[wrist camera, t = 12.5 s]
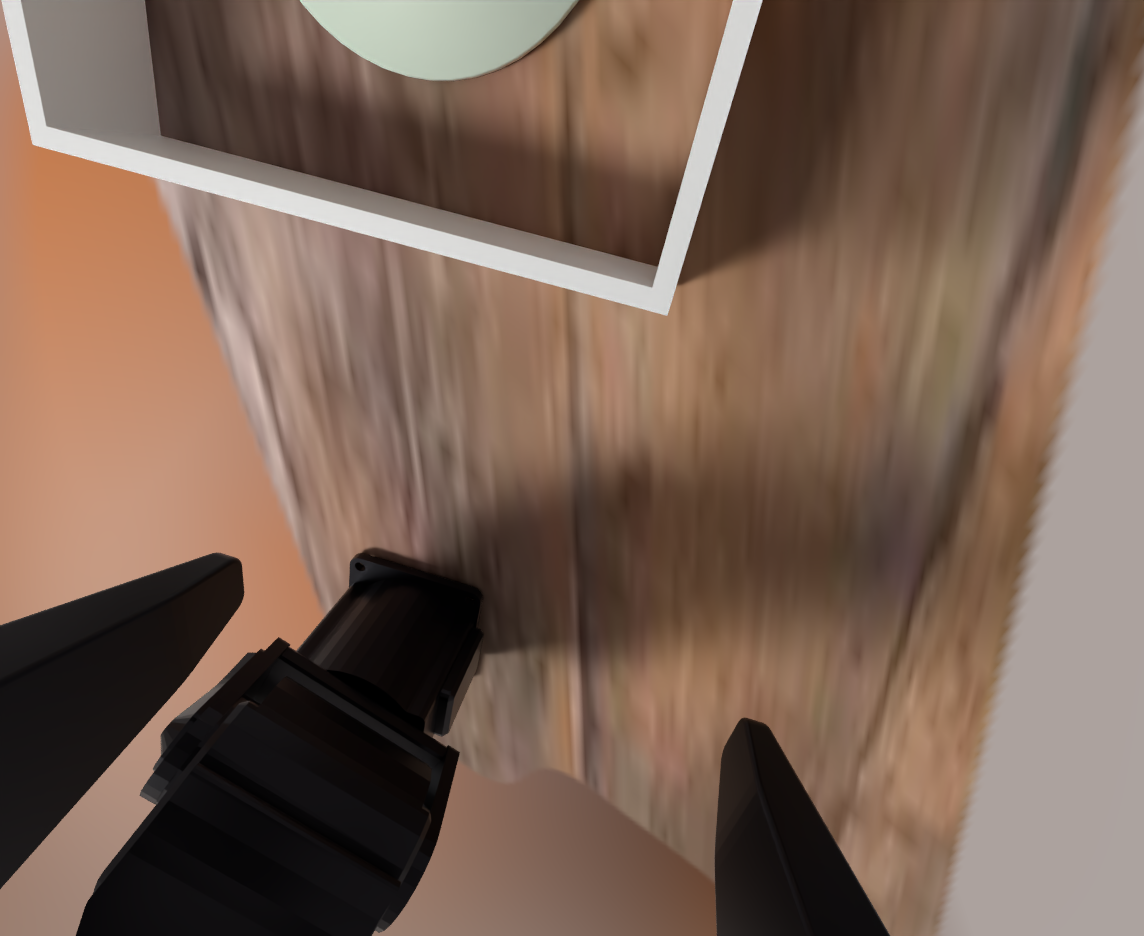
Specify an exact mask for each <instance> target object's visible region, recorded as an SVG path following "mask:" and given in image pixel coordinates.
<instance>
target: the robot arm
mask: <svg viewBox="0 0 1144 936" xmlns="http://www.w3.org/2000/svg"><path fill="white" fill-rule="evenodd" d="M360 563H362V564H363V565H364V566H363V565H361V564H360ZM242 573H243V572H242V564H241V562H240V560H239V559H237V558H235V557H232V556H229V555H225V554H222V553H212V554H209V555H206V556H203V557H200V558H197V559H194V560H191V561H189V562H185V563H182V564H179V565H176V566H174V567H171V568H168V569H165V570H162V571H159V572H156V573H153V574H150V575H147V576H144V577H141V578H138V579H135V580H132V581H129V582H126V583H124V584H121V585H118V586H115V587H112V588H109V589H106V590H103V591H100V592H97V593H94V594H91V595H88V596H85V597H82V598H79V599H77V600H74V601H71V602H68V603H65V604H62V605H59V606H56V607H53V608H50V609H47V610H44V611H41V612H38V613H35V614H32V615H29V616H27V617H24V618H21V619H18V620H15V621H12V622H9V623H6V624H3V625H0V889H1V888H2V886H3V885H4V884H5V883H6V882H7V881H8V880H9V879H10V878H11V876H12V875H13V874H14V873H15V872H16V871H17V870H18V868H19V867H20V866H21V865H22V864H23V863H24V861H26V859H27V858H28V857H29V856H30V855H31V854H32V853H33V852H34V850H35V849H36V848H37V847H38V846H39V845H40V844H41V843H42V841H43V840H44V839H45V838H46V837H47V836H48V835H49V834H50V832H51V831H52V830H53V829H54V828H55V827H56V826H57V825H58V823H59V822H60V821H61V820H62V819H63V818H64V816H66V814H67V813H68V812H69V811H70V810H71V809H72V808H73V806H74V805H75V804H76V803H77V802H78V801H79V800H80V798H81V797H82V796H83V795H84V794H85V793H86V792H87V791H88V790H89V789H90V787H91V786H92V785H93V784H94V783H95V782H96V781H97V780H98V778H99V777H100V776H101V775H102V774H103V773H104V772H105V771H106V769H107V768H108V767H109V766H110V765H111V764H112V763H113V762H114V760H115V759H116V758H117V757H118V756H119V755H120V754H121V752H122V751H123V750H124V749H125V748H126V747H127V746H128V745H129V744H130V742H131V741H132V740H133V739H134V738H135V737H136V736H137V735H138V733H139V732H140V731H141V730H142V729H143V728H144V727H145V726H146V724H147V723H148V722H149V721H150V720H151V719H152V718H153V716H154V715H155V714H156V713H157V712H158V711H159V710H160V709H161V708H162V706H163V705H164V704H165V703H166V702H167V701H168V700H169V699H170V697H171V696H172V695H173V694H174V693H175V692H176V691H177V689H178V688H179V687H180V686H181V685H182V683H183V682H184V681H185V680H186V679H187V677H188V676H189V675H190V673H191V672H192V671H193V670H194V668H195V667H196V665H197V664H198V663H199V661H200V659H202V657H203V656H204V654H205V653H206V652H207V650H208V649H209V648H210V646H211V645H212V643H213V642H214V641H215V639H216V638H217V637H218V635H219V634H220V632H221V631H222V630H223V628H224V627H225V626H226V624H227V623H228V622H229V620H230V619H231V617H232V616H233V615H234V613H235V612H236V611H237V609H238V608H239V606H240V605H241V603H242V600H243V597H244V584H243V574H242ZM469 597H472V598H474V599H475V600H473V599H471V598H469ZM482 602H483V594H482V593H481V591H480V590H479V589H477V588H475V587H471V586H468V585H465V584H462V583H458V582H455V581H452V580H449V579H445V578H442V577H439V576H436V575H432V574H429V573H426V572H423V571H419V570H416V569H413V568H410V567H406V566H403V565H400V564H397V563H393V562H390V561H387V560H383V559H380V558H377V557H374V556H370V555H367V554H363V553H359V554H357V555H356V556H355V557H354V558H353V559H352V560H351V562H350V578H349V589H348V590H347V591H346V592H345V594H344V595H343V596H342V597H341V598H340V599H339V601H338V602H337V603H336V604H335V605H334V607H333V608H332V609H331V610H330V611H329V613H328V614H327V615H326V616H325V617H324V619H323V620H322V621H321V622H320V623H319V624H318V626H317V627H316V628H315V629H314V630H313V632H312V633H311V634H310V635H309V636H308V638H307V639H306V640H305V641H304V642H303V644H302V645H301V646H300V647H299V649H298V650H297V651H295V650H294V649H292V648H290V647H289V646H290V644H289V643H287V642H286V641H284V640H282V639H281V638H279V637H278V638H277V639H276V640H275V641H274V642H273V643H272V644H271V645H270V646H269V647H268V648H267V649H266V650H265V651H264V650H262V649H260V650H259V651H258V652H257V653H247V654H246V655H245V656H244V657H243V658H242V659H241V660H240V662H239V663H238V664H237V665H236V666H235V667H234V668H233V669H232V670H231V671H230V672H229V673H228V674H227V675H226V676H225V677H224V678H223V679H222V680H221V681H220V682H219V683H218V684H217V685H216V686H215V687H214V688H213V689H211V690H210V691H209V692H208V693H206V694H205V695H204V696H203V697H201V698H200V699H199V700H198V701H196V702H195V703H194V704H193V705H191V706H190V707H189V708H187V709H186V710H185V711H183V712H182V713H181V714H180V715H179V716H177V717H176V718H175V719H174V720H173V721H172V722H171V723H170V724H169V725H168V726H167V727H166V728H165V730H164V731H163V732H162V734H161V757H160V758H159V760H158V761H157V763H156V764H155V766H154V768H153V770H154V773H153V774H152V776H151V777H150V779H149V780H148V781H147V783H146V784H145V786H144V787H143V789H142V790H141V793H140V796H141V797H143V798H145V799H147V800H148V801H150V802H152V803H154V804H156V806H155V807H154V809H153V810H152V811H151V812H150V814H149V815H148V816H147V817H146V819H145V820H144V821H143V822H142V824H141V825H140V826H139V828H138V829H137V830H136V831H135V832H134V834H133V835H132V836H131V838H130V839H129V840H128V841H127V842H126V844H125V845H124V846H123V847H122V849H121V850H120V851H119V852H118V854H117V855H116V856H115V857H114V859H113V860H112V861H111V863H110V864H109V865H108V866H107V868H106V869H105V870H104V872H103V873H102V874H101V876H100V878H99V879H98V881H97V884H96V886H95V889H94V892H93V895H92V896H91V898H90V899H89V900H88V902H87V904H86V906H85V909H84V912H83V915H82V918H81V921H80V924H79V927H78V931H77V934H76V936H372V934H373V932H374V931H377V932H379V933H380V932H382V931H384V930H386V929H387V928H388V927H389V926H390V925H391V924H392V923H393V922H394V920H395V919H396V918H397V917H398V915H399V914H400V913H401V911H402V910H403V908H404V907H405V905H406V904H407V902H408V901H409V899H410V897H411V896H412V894H413V892H414V891H415V889H416V887H417V885H418V883H419V881H420V879H421V878H422V875H423V874H424V872H425V869H426V867H427V865H428V863H429V861H430V858H431V856H432V853H433V851H434V848H435V846H436V843H437V840H438V836H439V833H440V829H441V825H442V821H443V817H444V813H445V809H446V805H447V801H448V797H449V793H450V789H451V785H452V781H453V777H454V773H455V769H456V765H457V761H458V757H459V753H460V752H458V751H457V750H455V749H454V748H452V747H451V746H449V745H448V746H447V747H446V746H445V745H443V744H441V743H440V742H438V741H437V740H435V739H434V738H432V737H433V735H434V734H436V735H439V736H444V735H446V734H448V733H449V731H450V728H451V726H452V724H453V722H454V719H455V717H456V715H457V712H458V710H459V708H460V706H461V703H462V701H463V699H464V697H465V694H466V692H467V690H468V688H469V685H470V683H471V681H472V678H473V676H474V674H475V672H476V669H477V666H478V661H479V656H480V651H481V646H482V641H483V636H484V634H483V632H482V630H481V629H479V628H478V623H479V618H480V612H481V607H482ZM715 893H716V923H717V936H890V935H889V933H888V931H887V929H886V928H885V926H884V924H883V923H882V921H881V919H880V917H879V916H878V914H877V912H876V910H875V909H874V907H873V905H872V904H871V902H870V900H869V898H868V897H867V895H866V893H865V892H864V890H863V888H862V886H861V885H860V883H859V881H858V879H857V878H856V876H855V874H854V873H853V871H852V869H851V867H850V866H849V864H848V862H847V861H846V859H845V857H844V855H843V854H842V852H841V850H840V848H839V847H838V845H837V843H836V842H835V840H834V838H833V836H832V835H831V833H830V831H829V830H828V828H827V826H826V824H825V823H824V821H823V819H822V818H821V816H820V814H819V812H818V811H817V809H816V807H815V805H814V804H813V802H812V800H811V799H810V797H809V795H808V793H807V792H806V790H805V788H804V787H803V785H802V783H801V781H800V780H799V778H798V776H797V774H796V773H795V771H794V769H793V768H792V766H791V764H790V762H789V761H788V759H787V757H786V756H785V754H784V752H783V750H782V749H781V747H780V745H779V743H778V742H777V740H776V738H775V737H774V735H773V733H772V731H771V730H770V728H769V727H768V726H767V725H766V724H764V723H762V722H758V721H755V720H752V719H749V718H742V719H741V720H740V721H739V722H738V724H737V725H736V727H735V729H734V731H733V732H732V734H731V736H730V738H729V739H728V741H727V743H726V745H725V747H724V750H723V753H722V758H721V770H720V784H719V798H718V812H717V826H716V840H715Z"/></svg>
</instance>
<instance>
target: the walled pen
mask: <svg viewBox="0 0 1144 936" xmlns="http://www.w3.org/2000/svg"><path fill="white" fill-rule="evenodd" d="M1 1H2V5H3V10H4V14H5V19H6V24H7V28H8V33H9V37H10V42H11V47H12V51H13V56H14V60H15V65H16V70H17V75H18V79H19V84H20V88H21V93H22V97H23V102H24V106H25V111H26V116H27V121H28V125H29V129H30V134H31V139H32V144H33V145H36V146H40V147H43V148H47V149H50V150H54V151H58V152H62V153H66V154H69V155H73V156H77V157H80V158H84V159H88V160H91V161H95V162H99V163H102V164H106V165H110V166H114V167H117V168H121V169H125V170H128V171H132V172H136V173H140V174H143V175H147V176H151V177H154V178H158V179H162V180H165V181H169V182H173V183H177V184H180V185H184V186H188V187H191V188H195V189H199V190H203V191H206V192H210V193H214V194H217V195H221V196H225V197H229V198H232V199H236V200H240V201H243V202H247V203H251V204H255V205H258V206H262V207H266V208H269V209H273V210H277V211H281V212H284V213H288V214H292V215H295V216H299V217H303V218H307V219H310V220H314V221H318V222H321V223H325V224H329V225H333V226H336V227H340V228H344V229H347V230H351V231H355V232H359V233H362V234H366V235H370V236H373V237H377V238H381V239H384V240H388V241H392V242H396V243H399V244H403V245H407V246H410V247H414V248H418V249H422V250H425V251H429V252H433V253H436V254H440V255H444V256H448V257H451V258H455V259H459V260H462V261H466V262H470V263H474V264H477V265H481V266H485V267H488V268H492V269H496V270H500V271H503V272H507V273H511V274H514V275H518V276H522V277H526V278H529V279H533V280H537V281H540V282H544V283H548V284H552V285H555V286H559V287H563V288H566V289H570V290H574V291H578V292H581V293H585V294H589V295H592V296H596V297H600V298H604V299H607V300H611V301H615V302H618V303H622V304H626V305H629V306H633V307H637V308H641V309H644V310H648V311H652V312H655V313H659V314H663V315H668V312H669V308H670V305H671V302H672V298H673V295H674V292H675V289H676V285H677V282H678V279H679V275H680V272H681V269H682V265H683V262H684V259H685V255H686V252H687V249H688V246H689V242H690V239H691V236H692V232H693V229H694V226H695V222H696V219H697V216H698V212H699V209H700V206H701V203H702V199H703V196H704V193H705V189H706V186H707V183H708V179H709V176H710V173H711V169H712V166H713V163H714V160H715V156H716V153H717V150H718V146H719V143H720V140H721V136H722V133H723V130H724V126H725V123H726V120H727V117H728V113H729V110H730V107H731V103H732V100H733V97H734V93H735V90H736V87H737V83H738V80H739V77H740V74H741V70H742V67H743V64H744V60H745V57H746V54H747V50H748V47H749V44H750V40H751V37H752V34H753V31H754V27H755V24H756V21H757V17H758V14H759V11H760V7H761V4H762V1H763V0H733V3H732V7H731V11H730V14H729V18H728V21H727V25H726V28H725V32H724V35H723V39H722V42H721V46H720V49H719V53H718V57H717V60H716V64H715V67H714V71H713V74H712V78H711V81H710V85H709V88H708V92H707V96H706V99H705V103H704V106H703V110H702V113H701V117H700V120H699V124H698V127H697V131H696V134H695V138H694V142H693V145H692V149H691V152H690V156H689V159H688V163H687V166H686V170H685V173H684V177H683V181H682V184H681V188H680V191H679V195H678V198H677V202H676V205H675V209H674V212H673V216H672V219H671V223H670V227H669V230H668V234H667V237H666V241H665V244H664V248H663V251H662V255H661V258H660V262H659V266H658V267H657V266H653V265H649V264H645V263H642V262H638V261H634V260H630V259H626V258H623V257H619V256H615V255H611V254H608V253H604V252H600V251H596V250H592V249H589V248H585V247H581V246H577V245H573V244H570V243H566V242H562V241H558V240H555V239H551V238H547V237H543V236H539V235H536V234H532V233H528V232H524V231H520V230H517V229H513V228H509V227H505V226H502V225H498V224H494V223H490V222H486V221H483V220H479V219H475V218H471V217H467V216H464V215H460V214H456V213H452V212H449V211H445V210H441V209H437V208H433V207H430V206H426V205H422V204H418V203H414V202H411V201H407V200H403V199H399V198H396V197H392V196H388V195H384V194H380V193H377V192H373V191H369V190H365V189H361V188H358V187H354V186H350V185H346V184H342V183H339V182H335V181H331V180H327V179H324V178H320V177H316V176H312V175H308V174H305V173H301V172H297V171H293V170H289V169H286V168H282V167H278V166H274V165H271V164H267V163H263V162H259V161H255V160H252V159H248V158H244V157H240V156H236V155H233V154H229V153H225V152H221V151H218V150H214V149H210V148H206V147H202V146H199V145H195V144H191V143H187V142H183V141H180V140H176V139H172V138H168V137H165V136H161V132H160V124H159V115H158V107H157V99H156V90H155V82H154V73H153V65H152V57H151V48H150V40H149V31H148V23H147V15H146V6H145V0H1ZM300 1H301V3H302V4H303V5H304V6H305V7H306V9H307V10H308V11H309V12H310V13H311V14H312V15H313V16H314V18H315V19H316V20H317V21H318V22H319V23H320V24H321V25H322V26H323V27H324V28H325V29H326V30H327V31H328V32H329V33H331V34H332V35H333V36H334V37H335V38H336V39H337V40H338V41H339V42H341V43H342V44H343V45H345V46H346V47H348V48H349V49H351V50H352V51H353V52H355V53H356V54H358V55H359V56H361V57H362V58H364V59H366V60H368V61H370V62H372V63H374V64H376V65H378V66H380V67H382V68H384V69H387V70H390V71H393V72H396V73H399V74H402V75H405V76H408V77H411V78H417V79H423V80H429V81H460V80H466V79H472V78H477V77H480V76H483V75H486V74H489V73H492V72H495V71H498V70H500V69H502V68H504V67H506V66H508V65H510V64H511V63H513V62H515V61H517V60H519V59H521V58H522V57H523V56H525V55H526V54H527V53H529V52H530V51H531V50H533V49H534V48H536V47H537V46H538V45H540V44H541V43H542V42H543V41H544V40H545V39H546V38H547V37H548V36H549V35H550V34H551V33H552V32H553V31H554V30H555V29H556V28H557V27H558V26H559V25H560V24H561V23H562V22H563V20H564V19H565V18H566V17H567V15H568V14H569V13H570V11H571V10H572V9H573V8H574V6H575V5H576V4H577V3H578V1H579V0H300Z"/></svg>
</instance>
